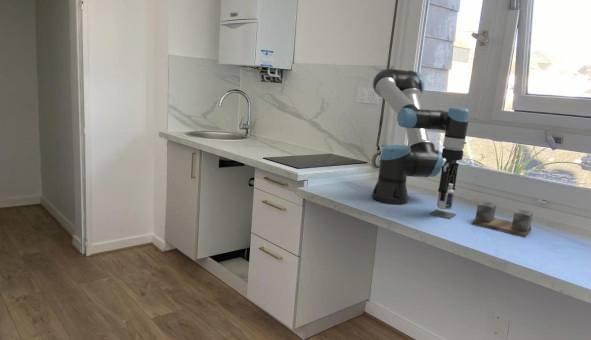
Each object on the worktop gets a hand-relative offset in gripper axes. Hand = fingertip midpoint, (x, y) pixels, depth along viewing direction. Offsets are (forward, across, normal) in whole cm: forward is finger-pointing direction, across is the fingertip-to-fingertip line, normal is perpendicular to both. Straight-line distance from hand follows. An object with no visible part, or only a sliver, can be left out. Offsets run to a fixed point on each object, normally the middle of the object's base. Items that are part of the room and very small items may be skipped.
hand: (444, 207), depth 171 cm
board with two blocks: (+3, +3, -21) cm, 21 cm away
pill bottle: (0, 0, 0) cm, 0 cm away
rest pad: (+3, 0, 0) cm, 3 cm away
